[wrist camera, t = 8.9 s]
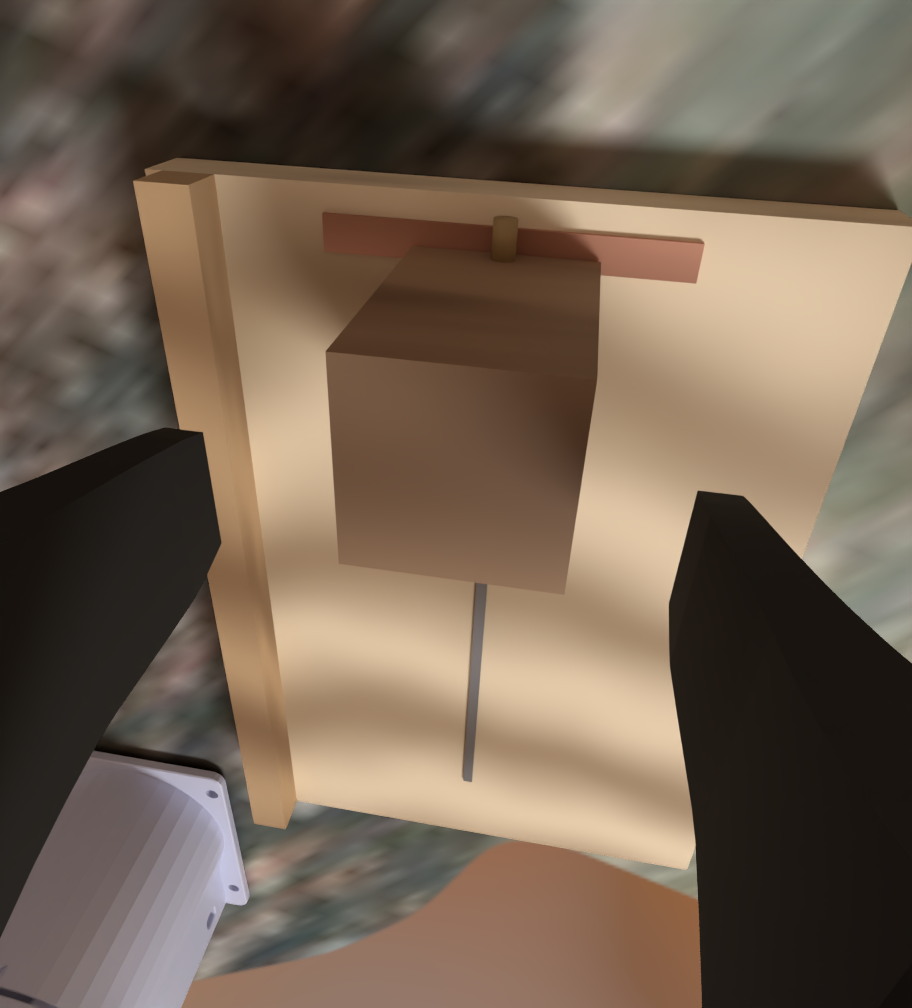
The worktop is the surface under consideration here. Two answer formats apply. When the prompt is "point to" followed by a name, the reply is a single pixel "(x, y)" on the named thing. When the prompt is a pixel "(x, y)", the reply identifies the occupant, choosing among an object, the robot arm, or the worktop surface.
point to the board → (602, 502)
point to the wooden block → (466, 415)
